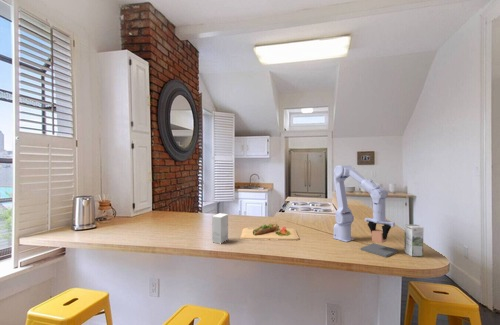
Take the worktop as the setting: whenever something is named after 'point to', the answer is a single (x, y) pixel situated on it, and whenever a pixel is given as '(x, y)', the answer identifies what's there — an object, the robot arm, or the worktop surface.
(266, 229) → the cutting board
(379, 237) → the cube
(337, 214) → the robot arm
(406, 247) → the syrup box
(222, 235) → the skincare box
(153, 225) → the worktop surface
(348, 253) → the worktop surface
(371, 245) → the mat
